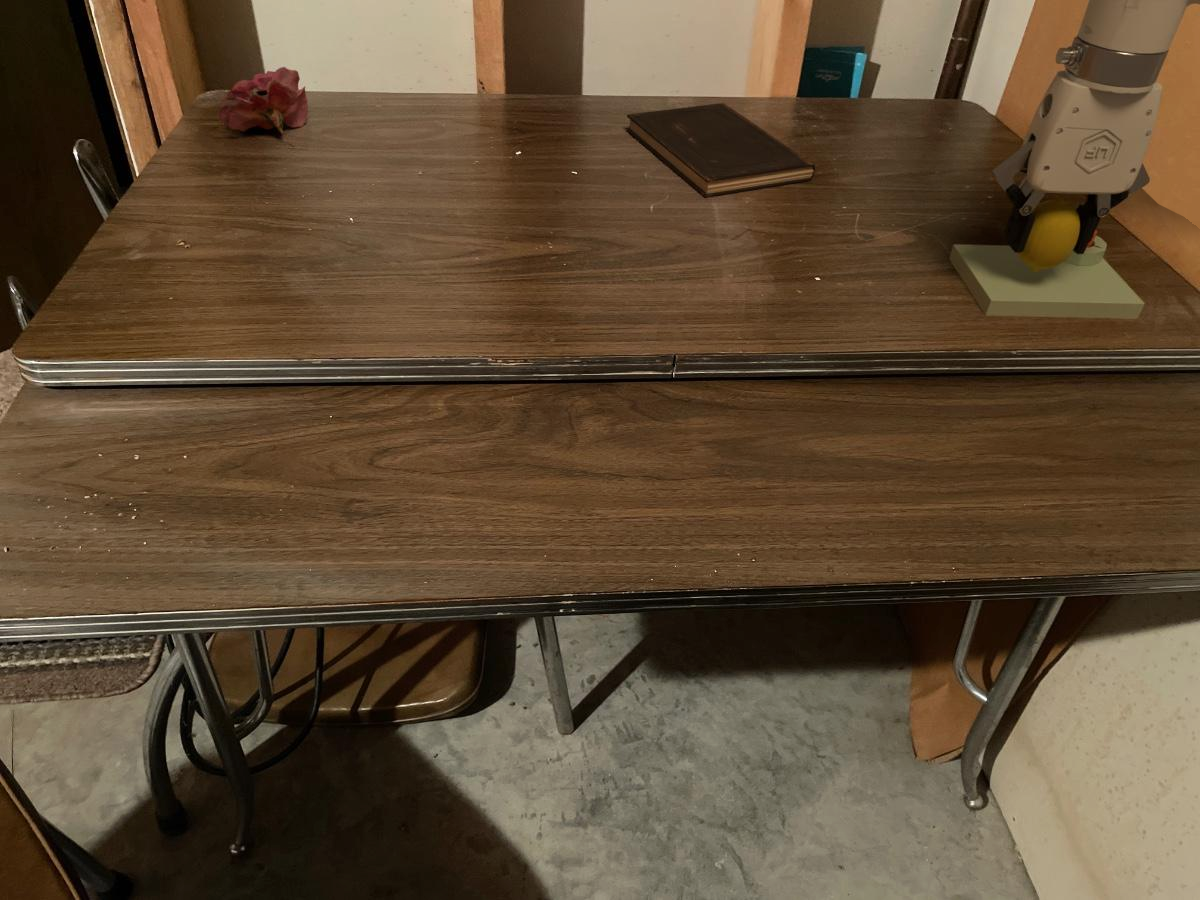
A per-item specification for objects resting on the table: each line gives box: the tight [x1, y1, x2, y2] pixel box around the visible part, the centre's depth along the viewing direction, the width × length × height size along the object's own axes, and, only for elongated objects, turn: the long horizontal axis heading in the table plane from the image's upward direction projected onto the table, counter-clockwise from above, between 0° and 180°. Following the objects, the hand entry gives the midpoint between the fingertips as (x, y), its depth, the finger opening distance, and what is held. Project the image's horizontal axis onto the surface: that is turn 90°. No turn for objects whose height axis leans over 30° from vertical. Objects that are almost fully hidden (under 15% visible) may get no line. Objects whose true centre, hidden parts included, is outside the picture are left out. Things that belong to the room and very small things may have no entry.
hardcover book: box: [625, 102, 816, 198], centre depth 122 cm, size 16×23×2 cm
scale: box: [948, 235, 1145, 320], centre depth 98 cm, size 16×13×4 cm
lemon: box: [1018, 197, 1080, 272], centre depth 92 cm, size 6×6×8 cm
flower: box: [218, 66, 309, 147], centre depth 120 cm, size 11×10×10 cm
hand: (1044, 245), depth 93 cm, fingers closed on lemon, 5 cm apart
